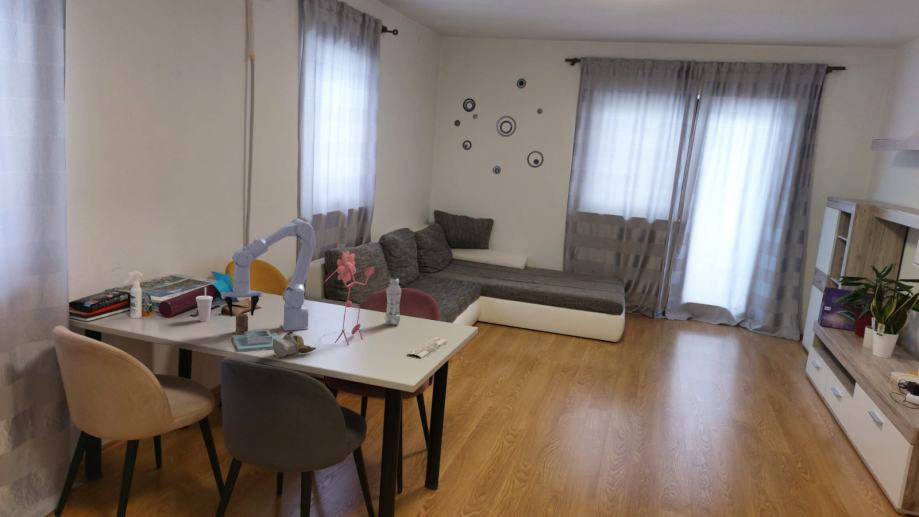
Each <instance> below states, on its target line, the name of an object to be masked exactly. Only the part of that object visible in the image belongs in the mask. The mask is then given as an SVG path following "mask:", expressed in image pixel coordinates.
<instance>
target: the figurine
mask: <svg viewBox="0 0 919 517" xmlns="http://www.w3.org/2000/svg"><path fill="white" fill-rule="evenodd" d="M355 256H356V255H355V253H350V251H349V250H347V251H346V252H345V251H343V252H342V254H341V259H339V258H338V259H337V261H336V264H337V269H335V270H334V271H333V272H332V274H330V275H329V276H328V277H327V278H326V280H324V282H323V283H326V282H327V281H328V280H329V279H330V278H331V277H332V276H333V275H334V274H335V273H338V275H337V280H338V281H341V280H342V282H343V284H344V286H345V288H348V292H347V293H348V294H347V300H346V301H345V303H344V306H345V309H344V314H343V322H342V330H341V332H340V333H339V335H338V337H337V338H336V340H335V342H334V343H335V344H336V343H337V342H338V340H339V339H341V337H342V335H343V336H344V339H345V342H346V344H347V346H349V345H350V343H349V340H348V337H347V335H346V333H345V331H346V328H344V327H345V319H346V313H347V308H351V307H355V308H356V309H358V313H357V320H356V325H355V326H354V327H353V328H352V329H351V335H353V336H354V335H355V334H356V333H357V332H358V333H359V336H360V339H361V340H364V338H363V335H362V332H361V329H360V328H361V323H359V319H360V311H361V308H360V306H356V305H354V304H353V302H352V301H351V300H349V299H350V293H351V292H350V291H351V288H352V287H353V286H354V285H356V284H358V285H363V286H366V284H367V282H368V280H369V278H370V276H372V275H373V274H374V273H375V268H374V266H371V267H369V268H367V269H366V270H365V272H364V276H365V278H366V280H365V283H363V282H358V281H356V279H355V277H354V275H356V274H357V268H356V266H355V265H356V262H355ZM351 279H352V280H353V282H351V283H349V284H348V285H347V283H348V282H350V281H351ZM336 333H337V332H334V334H336ZM330 334H331V335H332V334H333V332H331V333H330V332H329V333H328V334H323V336H321V338H319V340H321V339H322V338H323V337H325V336H328V335H330ZM371 336H374V335H373V334H371Z"/></svg>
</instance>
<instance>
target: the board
mask: <svg viewBox="0 0 919 517" xmlns="http://www.w3.org/2000/svg"><path fill="white" fill-rule="evenodd" d="M270 334H271V335H272V343H266V344H253V345H247V342H246V340H245V338H244V334H240V335H237V334H236V335H232V339H233V342H234V344H235V347H236V349H237V352H238V353H240V352H251V351H262V350H265V351H266V350H273V339H274V338H275V339H281V337H280V336H279V334H278V333H277V332H270Z"/></svg>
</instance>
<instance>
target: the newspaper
mask: <svg viewBox="0 0 919 517" xmlns="http://www.w3.org/2000/svg"><path fill="white" fill-rule="evenodd" d="M444 342H445V343H446V342H447V340H446V339H445V338H443V337H438V336H437V337H436V336H435V337H432V338H431V339H428V341H425V342H424V343H422V344H420V345H419V346H418V347H416V348H415V349H413V350H411V351H410V352H408V353H407V354H406V356H411V355H415V356H417V357H420V359H423V358H424V357H425V356H427V355H429V354H431V351H432V352H433V351H435V350H436V349H438V348H439V347H441V346H442V345H443V344H445V343H444ZM441 344H442V345H441ZM434 349H435V350H434Z"/></svg>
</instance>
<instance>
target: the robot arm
mask: <svg viewBox="0 0 919 517" xmlns="http://www.w3.org/2000/svg"><path fill="white" fill-rule="evenodd" d="M286 237H297V238H298V240H299V242H301V248H300V250H299V254H298V257H297V260H296V264H295V267H294V271H293V274H292V277H291V280H290V282H288V283H287V287H286V288H285V289H284V291H283V292H282V300H283V301H284V304H283V323H281V324H280V326H281V327H282V329H283V331H297V330H298V331H300V330H308V329H309V308H308V306H307V305H304V303H305V290H306V288H305V282H306V279H307V276H308V272H309V270H310V266H311V262H312V259H313V255H314V252H315V250H316V246H317V239H316V234H315V228H314V227H313V226H312V225H311V223H310V222H308V221H304V220H303V219H301V218H294V219H292V220H291V221H288V222H286V224H284V225H283V226H281V227H280V228H278V229H277V230H275V231H274V232H272V233H271V234H270V235H268V236H267V237H264V239H263V238H254V239H253V240H252V241H253V242H251V243H249V244H247V245H246V246H243V247H242V249H238V250H236V251H234V253H233V255H232V261H233V263H234V270H233V291H226V292H225V291H224V292H221V299H223V300H225V302H226V305H228V308H229V312H230V315H229V317H230V318H231V317H233V316H232V315H233V314H232V304H233V299H234V298H235V299H236V298H250V301H251V311H250V316H252V317H253V316H254V314H255V307H256V305H258V303H259V301H260V298H262V297H263V296H262V295H263V292H262V291H261V290H251V287H250V286H251V280H250V278H251V268H250V266H251V264H252V262H253V261H254V260H256V259H257V258H259V257H260V256H262V255H263V254H265V253H266V252H268V251H269V248H270V247H271V246H272V245H274V244H276V243H277V242H279V241H281V240H283V239H284V238H286Z"/></svg>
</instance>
